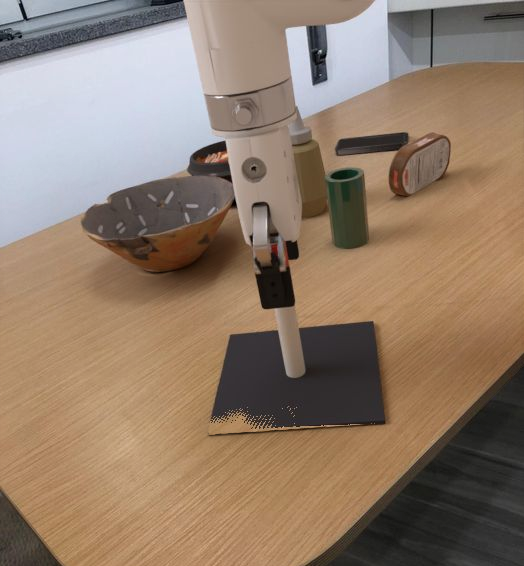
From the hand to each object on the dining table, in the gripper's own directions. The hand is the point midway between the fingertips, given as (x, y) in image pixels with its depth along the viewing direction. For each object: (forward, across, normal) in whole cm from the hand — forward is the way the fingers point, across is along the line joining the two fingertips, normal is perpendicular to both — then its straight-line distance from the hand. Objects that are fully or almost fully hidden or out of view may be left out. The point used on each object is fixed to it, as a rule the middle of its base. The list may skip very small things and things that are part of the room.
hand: (282, 281), depth 61 cm
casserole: (+12, +62, +15) cm, 65 cm away
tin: (+12, +51, -20) cm, 56 cm away
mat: (+12, 0, 0) cm, 12 cm away
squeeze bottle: (+12, +46, 0) cm, 48 cm away
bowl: (+12, +34, +22) cm, 42 cm away
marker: (+12, 0, 0) cm, 12 cm away
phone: (+12, +78, -13) cm, 80 cm away
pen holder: (+12, +32, -7) cm, 35 cm away
